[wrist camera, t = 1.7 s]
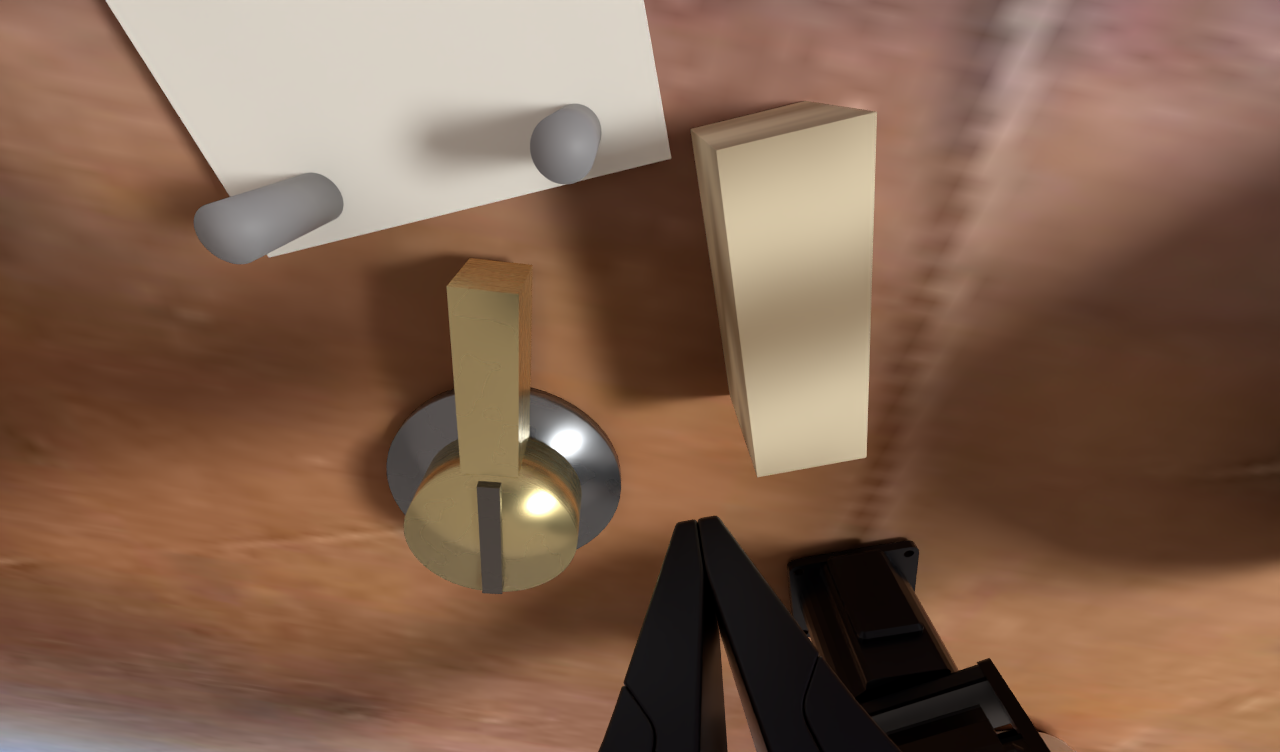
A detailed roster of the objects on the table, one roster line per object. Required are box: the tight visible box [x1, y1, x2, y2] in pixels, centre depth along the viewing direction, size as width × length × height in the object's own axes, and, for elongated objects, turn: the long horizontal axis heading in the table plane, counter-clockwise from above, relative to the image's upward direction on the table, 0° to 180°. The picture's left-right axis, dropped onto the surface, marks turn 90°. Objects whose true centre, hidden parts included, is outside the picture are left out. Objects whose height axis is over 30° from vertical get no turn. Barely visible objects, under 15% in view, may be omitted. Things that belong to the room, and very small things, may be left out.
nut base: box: [387, 387, 621, 549], centre depth 22 cm, size 10×10×1 cm
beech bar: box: [690, 101, 877, 477], centre depth 16 cm, size 10×4×5 cm, turn 12°
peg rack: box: [106, 0, 672, 264], centre depth 12 cm, size 13×9×5 cm
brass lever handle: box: [404, 258, 582, 594], centre depth 18 cm, size 14×7×3 cm, turn 173°
